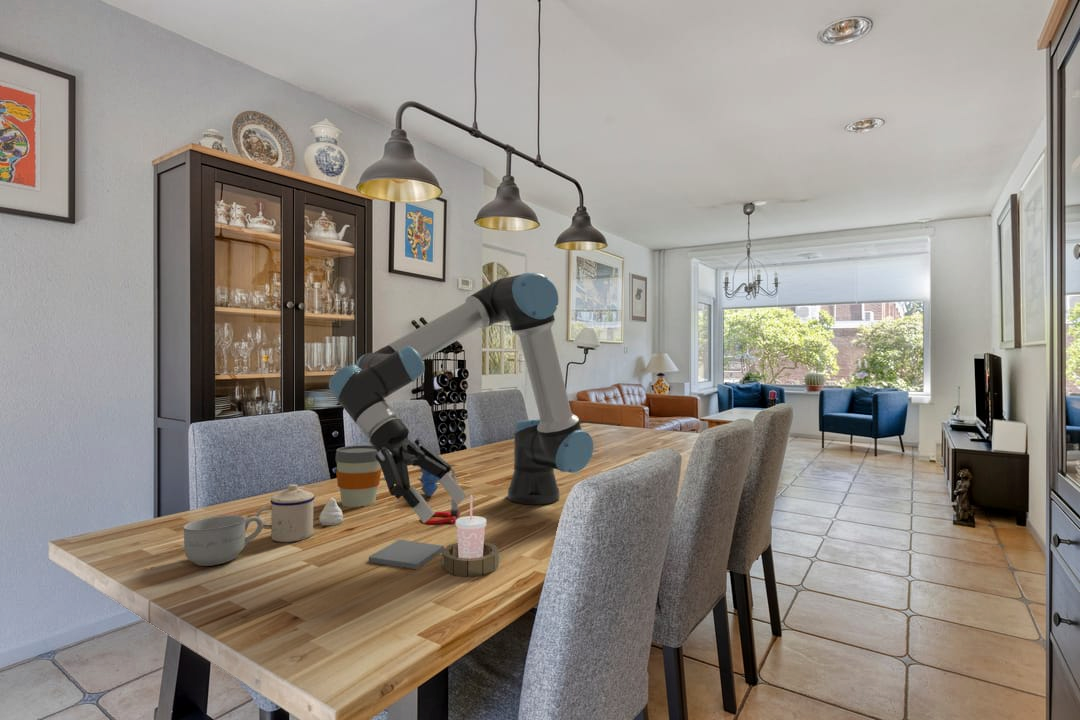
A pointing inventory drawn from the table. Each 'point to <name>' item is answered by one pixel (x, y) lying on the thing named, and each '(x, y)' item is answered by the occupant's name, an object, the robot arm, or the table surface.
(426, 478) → the grapes
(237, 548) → the teacup
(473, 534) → the beverage cup
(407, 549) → the coaster
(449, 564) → the stone block ring
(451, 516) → the tow hook
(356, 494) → the reusable coffee cup
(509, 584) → the table surface
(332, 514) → the white meringue swirl
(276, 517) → the teacup with lid
